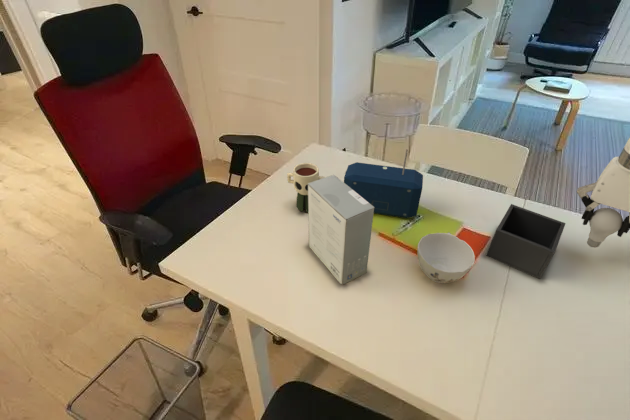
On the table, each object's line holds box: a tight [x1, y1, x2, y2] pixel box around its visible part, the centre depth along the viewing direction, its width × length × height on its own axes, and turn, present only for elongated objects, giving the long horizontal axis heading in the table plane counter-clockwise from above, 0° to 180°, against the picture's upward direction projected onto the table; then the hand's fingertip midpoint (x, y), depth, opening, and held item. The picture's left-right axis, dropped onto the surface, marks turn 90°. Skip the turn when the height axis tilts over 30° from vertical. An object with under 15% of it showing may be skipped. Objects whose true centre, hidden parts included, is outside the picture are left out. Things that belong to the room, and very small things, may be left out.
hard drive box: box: [307, 174, 375, 285], centre depth 87 cm, size 16×8×20 cm, turn 32°
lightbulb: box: [586, 207, 624, 248], centre depth 87 cm, size 6×6×11 cm
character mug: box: [286, 162, 326, 213], centre depth 105 cm, size 11×7×13 cm, turn 78°
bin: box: [485, 203, 566, 280], centre depth 92 cm, size 13×13×9 cm
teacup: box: [416, 231, 476, 284], centre depth 87 cm, size 15×12×8 cm
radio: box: [343, 149, 424, 219], centre depth 103 cm, size 21×9×20 cm, turn 76°
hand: (602, 226), depth 86 cm, fingers closed on lightbulb, 6 cm apart
